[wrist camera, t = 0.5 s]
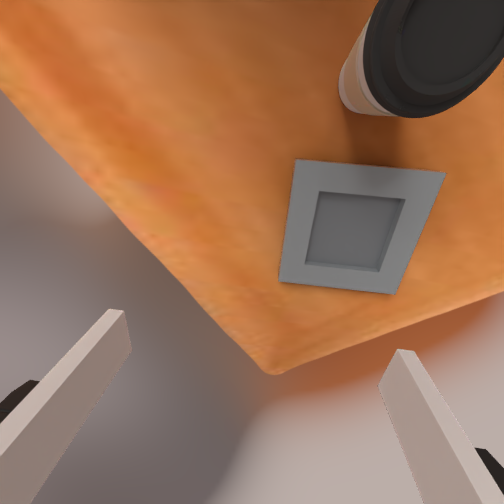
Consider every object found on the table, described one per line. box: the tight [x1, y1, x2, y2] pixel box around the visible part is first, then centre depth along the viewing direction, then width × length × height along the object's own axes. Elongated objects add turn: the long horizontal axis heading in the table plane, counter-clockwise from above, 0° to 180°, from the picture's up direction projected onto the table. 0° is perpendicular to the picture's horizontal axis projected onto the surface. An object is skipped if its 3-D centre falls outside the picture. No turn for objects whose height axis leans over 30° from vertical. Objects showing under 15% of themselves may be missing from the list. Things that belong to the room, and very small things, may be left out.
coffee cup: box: [338, 0, 504, 118], centre depth 20 cm, size 9×9×15 cm
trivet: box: [278, 158, 446, 295], centre depth 34 cm, size 18×18×2 cm
